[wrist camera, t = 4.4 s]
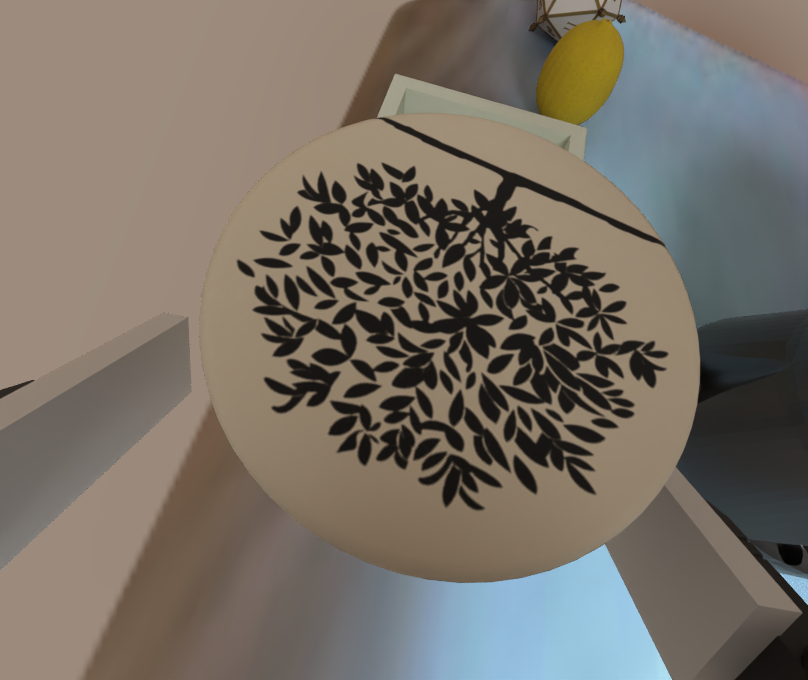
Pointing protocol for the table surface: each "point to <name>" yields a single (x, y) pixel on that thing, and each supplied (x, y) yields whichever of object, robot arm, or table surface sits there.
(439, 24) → the table surface
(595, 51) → the lemon
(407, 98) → the holder
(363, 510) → the travel mug
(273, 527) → the table surface
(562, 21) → the game die
